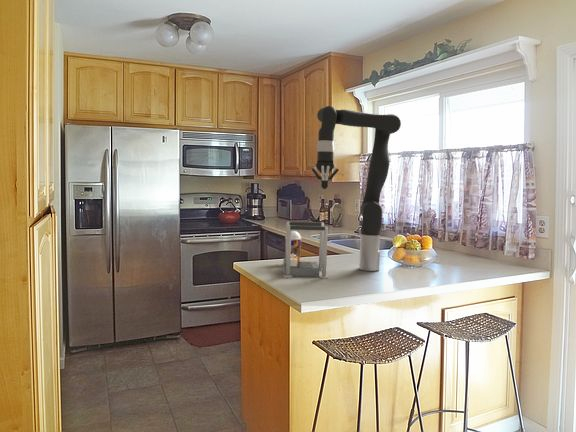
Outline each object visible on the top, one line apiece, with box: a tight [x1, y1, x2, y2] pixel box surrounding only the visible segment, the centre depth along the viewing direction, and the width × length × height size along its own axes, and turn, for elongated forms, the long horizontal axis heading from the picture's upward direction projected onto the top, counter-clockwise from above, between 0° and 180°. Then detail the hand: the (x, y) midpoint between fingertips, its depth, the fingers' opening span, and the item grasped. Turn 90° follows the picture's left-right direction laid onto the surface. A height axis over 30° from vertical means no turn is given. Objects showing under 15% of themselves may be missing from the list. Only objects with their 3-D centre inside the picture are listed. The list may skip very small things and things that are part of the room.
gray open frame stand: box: [282, 221, 329, 280], centre depth 205 cm, size 20×20×23 cm
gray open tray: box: [282, 257, 320, 278], centre depth 206 cm, size 16×14×6 cm
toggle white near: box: [290, 258, 297, 266], centre depth 201 cm, size 3×3×4 cm
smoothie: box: [284, 225, 303, 261], centre depth 223 cm, size 8×8×20 cm
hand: (324, 188), depth 207 cm, fingers closed
